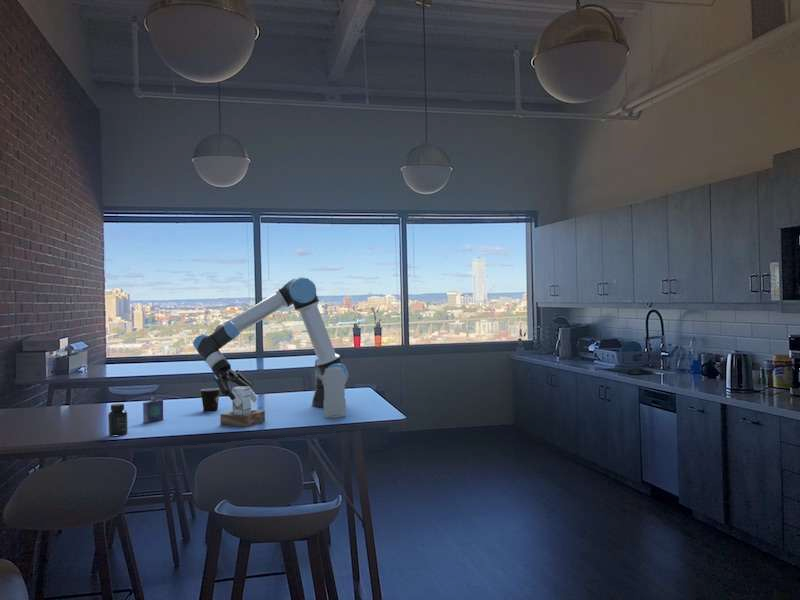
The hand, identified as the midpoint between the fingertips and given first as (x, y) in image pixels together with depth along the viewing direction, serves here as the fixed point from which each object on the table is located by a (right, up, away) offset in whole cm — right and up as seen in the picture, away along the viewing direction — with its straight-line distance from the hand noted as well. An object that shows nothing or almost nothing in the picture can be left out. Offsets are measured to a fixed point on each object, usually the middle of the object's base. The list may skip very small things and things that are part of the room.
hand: (248, 402), depth 266 cm
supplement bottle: (-48, -10, -16) cm, 52 cm away
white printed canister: (-3, -8, +1) cm, 9 cm away
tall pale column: (+36, -8, +11) cm, 38 cm away
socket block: (-3, -9, +1) cm, 9 cm away
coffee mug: (-25, -9, +35) cm, 44 cm away
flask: (-44, -10, +10) cm, 46 cm away
